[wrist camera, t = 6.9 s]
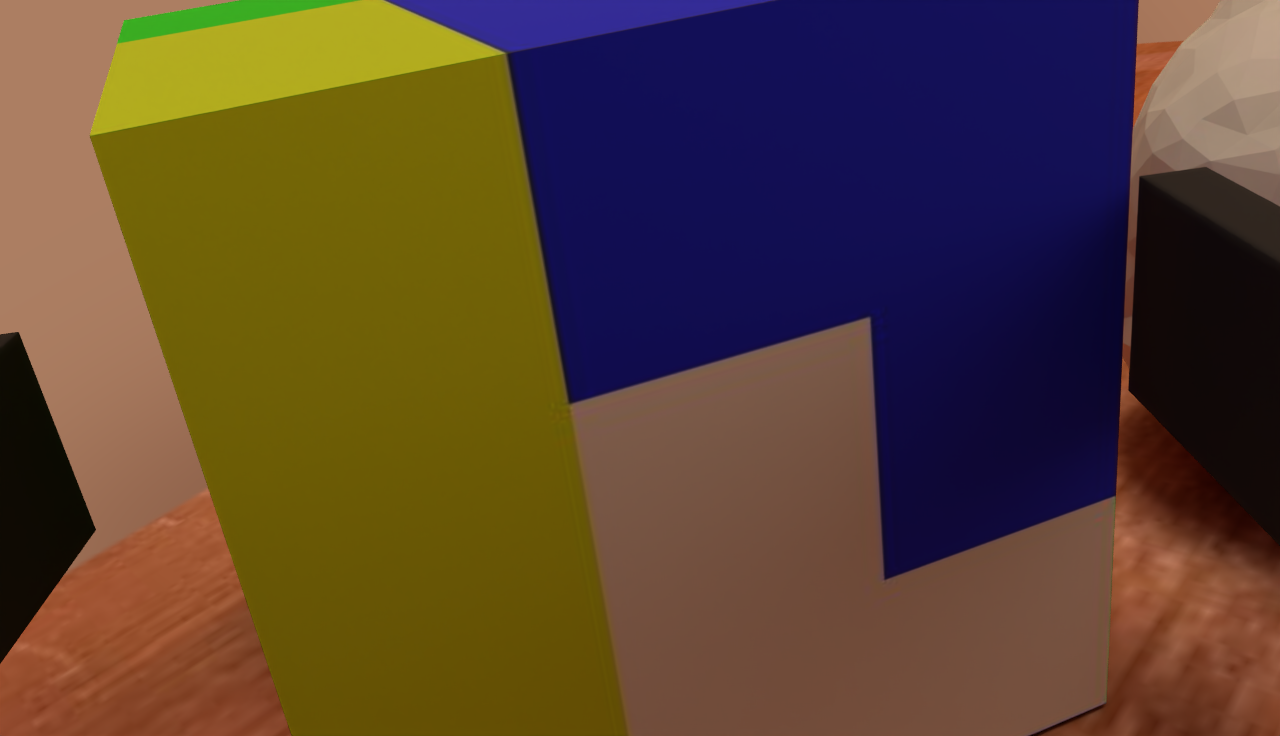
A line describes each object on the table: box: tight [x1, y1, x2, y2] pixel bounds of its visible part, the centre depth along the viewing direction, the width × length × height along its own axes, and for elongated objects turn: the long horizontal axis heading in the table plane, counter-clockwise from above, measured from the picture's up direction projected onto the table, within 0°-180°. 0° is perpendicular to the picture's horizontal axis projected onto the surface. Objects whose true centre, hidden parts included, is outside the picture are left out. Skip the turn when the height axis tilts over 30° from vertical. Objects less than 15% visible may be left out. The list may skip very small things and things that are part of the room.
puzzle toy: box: [90, 0, 1139, 736], centre depth 17 cm, size 10×10×10 cm
